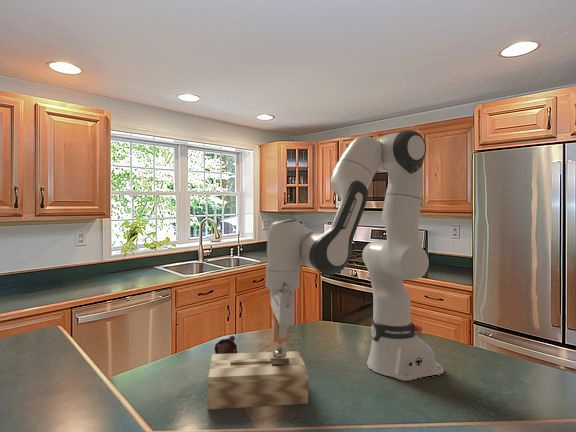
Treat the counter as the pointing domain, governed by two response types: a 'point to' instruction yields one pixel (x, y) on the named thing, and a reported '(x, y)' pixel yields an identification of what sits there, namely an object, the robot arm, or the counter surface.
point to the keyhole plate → (256, 380)
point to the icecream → (226, 346)
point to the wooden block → (279, 339)
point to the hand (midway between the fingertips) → (280, 333)
